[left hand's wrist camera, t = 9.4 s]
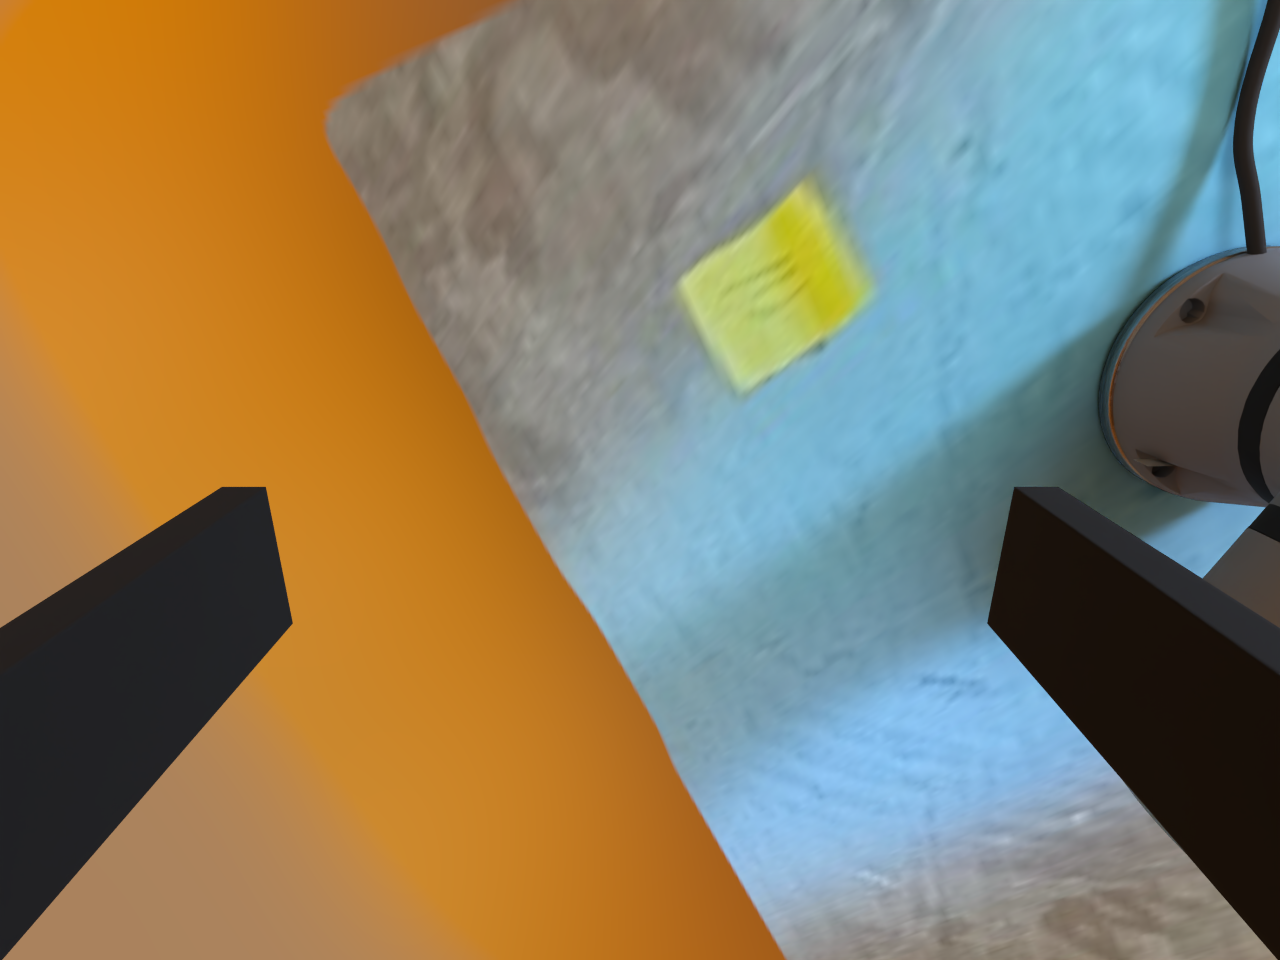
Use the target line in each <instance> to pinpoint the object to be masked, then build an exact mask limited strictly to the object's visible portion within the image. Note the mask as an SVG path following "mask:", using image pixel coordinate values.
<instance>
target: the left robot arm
mask: <svg viewBox="0 0 1280 960" xmlns="http://www.w3.org/2000/svg"><path fill="white" fill-rule="evenodd" d="M1279 29H1280V0H1268V2H1267V5H1266V9H1265V13H1264V16H1263V20H1262V23H1261V26H1260V30H1259V33H1258V36H1257V39H1256V42H1255V45H1254V49H1253V52H1252V55H1251V58H1250V61H1249V64H1248V67H1247V71H1246V74H1245V78H1244V81H1243V85H1242V89H1241V93H1240V97H1239V102H1238V106H1237V112H1236V119H1235V127H1234V137H1233V154H1234V163H1235V169H1236V174H1237V179H1238V184H1239V189H1240V195H1241V202H1242V211H1243V220H1244V229H1245V238H1246V247H1242V248H1237V249H1232V250H1228V251H1224V252H1221V253H1218V254H1215V255H1212V256H1210V257H1208V258H1205V259H1203V260H1201V261H1198V262H1196V263H1195V264H1193V265H1191V266H1189V267H1187V268H1185V269H1184V270H1182V271H1180V272H1179V273H1177V274H1176V275H1174V276H1173V277H1171V278H1170V279H1169V280H1167V281H1166V282H1165V283H1163V284H1162V285H1161V286H1160V287H1159V288H1157V289H1156V290H1155V291H1154V292H1153V293H1152V294H1151V295H1150V296H1149V297H1148V298H1147V299H1146V300H1145V301H1144V302H1143V303H1142V304H1141V305H1140V306H1139V307H1138V308H1137V310H1136V311H1135V312H1134V313H1133V314H1132V316H1131V317H1130V318H1129V320H1128V321H1127V323H1126V324H1125V325H1124V327H1123V328H1122V330H1121V332H1120V333H1119V335H1118V337H1117V338H1116V340H1115V342H1114V344H1113V347H1112V349H1111V351H1110V353H1109V356H1108V358H1107V361H1106V364H1105V367H1104V370H1103V374H1102V379H1101V384H1100V391H1099V414H1100V422H1101V426H1102V430H1103V433H1104V436H1105V438H1106V441H1107V443H1108V445H1109V447H1110V449H1111V451H1112V452H1113V454H1114V455H1115V456H1116V458H1117V459H1118V460H1119V461H1120V463H1121V464H1122V465H1123V466H1124V467H1125V468H1126V469H1128V470H1129V471H1130V472H1131V473H1133V474H1134V475H1135V476H1137V477H1138V478H1140V479H1142V480H1144V481H1146V482H1148V483H1150V484H1152V485H1154V486H1156V487H1157V488H1159V489H1161V490H1164V491H1166V492H1169V493H1172V494H1175V495H1179V496H1182V497H1185V498H1189V499H1193V500H1199V501H1207V502H1217V503H1228V504H1238V505H1249V506H1259V507H1266V508H1265V509H1264V510H1263V511H1262V513H1261V514H1260V515H1259V516H1258V517H1257V518H1256V519H1255V520H1254V522H1253V523H1252V524H1251V525H1250V526H1249V527H1248V528H1247V529H1246V530H1245V531H1244V532H1243V533H1242V534H1241V536H1240V537H1239V538H1238V539H1237V540H1236V541H1235V542H1234V544H1233V545H1232V546H1231V547H1230V548H1229V549H1228V550H1227V552H1226V553H1225V554H1224V555H1223V556H1222V557H1221V558H1220V560H1219V561H1218V562H1217V563H1216V564H1215V565H1214V566H1213V568H1212V569H1211V570H1210V571H1209V572H1208V573H1207V574H1206V575H1205V576H1204V577H1203V579H1202V578H1200V577H1199V576H1197V575H1196V574H1194V573H1192V572H1191V571H1189V570H1188V569H1186V568H1185V567H1183V566H1181V565H1180V564H1178V563H1177V562H1175V561H1174V560H1172V559H1170V558H1169V557H1167V556H1166V555H1164V554H1163V553H1161V552H1159V551H1158V550H1156V549H1155V548H1153V547H1152V546H1150V545H1148V544H1147V543H1145V542H1144V541H1142V540H1141V539H1139V538H1137V537H1136V536H1134V535H1133V534H1131V533H1130V532H1128V531H1126V530H1125V529H1123V528H1122V527H1120V526H1119V525H1117V524H1115V523H1114V522H1112V521H1111V520H1109V519H1108V518H1106V517H1104V516H1103V515H1101V514H1100V513H1098V512H1097V511H1095V510H1093V509H1092V508H1090V507H1089V506H1087V505H1085V504H1084V503H1082V502H1081V501H1079V500H1078V499H1076V498H1074V497H1073V496H1071V495H1070V494H1068V493H1067V492H1065V491H1063V490H1062V489H1060V488H1059V487H1014V491H1013V496H1012V501H1011V506H1010V511H1009V516H1008V521H1007V526H1006V531H1005V536H1004V541H1003V547H1002V552H1001V557H1000V562H999V567H998V572H997V577H996V582H995V587H994V592H993V597H992V602H991V607H990V612H989V617H988V622H987V624H988V625H989V626H990V627H991V628H992V629H993V631H994V632H995V633H996V634H997V635H998V636H999V638H1000V639H1001V640H1002V641H1003V642H1004V643H1005V644H1006V646H1007V647H1008V648H1009V649H1010V650H1011V651H1012V653H1013V654H1014V655H1015V656H1016V657H1017V658H1018V659H1019V661H1020V662H1021V663H1022V664H1023V665H1024V666H1025V668H1026V669H1027V670H1028V671H1029V672H1030V673H1031V675H1032V676H1033V677H1034V678H1035V679H1036V680H1037V681H1038V683H1039V684H1040V685H1041V686H1042V687H1043V688H1044V690H1045V691H1046V692H1047V693H1048V694H1049V695H1050V697H1051V698H1052V699H1053V700H1054V701H1055V702H1056V703H1057V705H1058V706H1059V707H1060V708H1061V709H1062V710H1063V712H1064V713H1065V714H1066V715H1067V716H1068V717H1069V719H1070V720H1071V721H1072V722H1073V723H1074V724H1075V725H1076V727H1077V728H1078V729H1079V730H1080V731H1081V732H1082V734H1083V735H1084V736H1085V737H1086V738H1087V739H1088V741H1089V742H1090V743H1091V744H1092V745H1093V746H1094V747H1095V749H1096V750H1097V751H1098V752H1099V753H1100V754H1101V756H1102V757H1103V758H1104V759H1105V760H1106V761H1107V763H1108V764H1109V765H1110V766H1111V767H1112V768H1113V769H1114V771H1115V772H1116V773H1117V774H1118V775H1119V776H1120V778H1121V779H1122V780H1123V781H1124V783H1125V784H1126V785H1127V787H1128V788H1129V790H1130V791H1131V792H1132V794H1133V795H1134V796H1135V798H1136V799H1137V800H1138V801H1139V803H1140V804H1141V805H1142V806H1143V807H1144V809H1145V810H1146V811H1147V812H1148V813H1149V815H1150V816H1151V817H1152V818H1153V819H1154V820H1155V821H1156V823H1157V824H1158V825H1159V826H1160V827H1161V828H1162V829H1163V830H1164V831H1165V833H1166V834H1167V835H1168V836H1169V837H1170V838H1171V839H1172V840H1173V841H1174V842H1175V843H1176V844H1177V845H1178V846H1179V847H1180V848H1181V849H1182V850H1183V851H1184V852H1185V853H1186V854H1187V855H1188V856H1189V857H1190V859H1191V860H1192V861H1193V862H1194V863H1195V864H1196V866H1197V867H1198V868H1199V869H1200V870H1201V871H1202V873H1203V874H1204V875H1205V876H1206V877H1207V878H1208V879H1209V881H1210V882H1211V883H1212V884H1213V885H1214V886H1215V888H1216V889H1217V890H1218V891H1219V892H1220V893H1221V895H1222V896H1223V897H1224V898H1225V899H1226V900H1227V901H1228V903H1229V904H1230V905H1231V906H1232V907H1233V908H1234V910H1235V911H1236V912H1237V913H1238V914H1239V915H1240V917H1241V918H1242V919H1243V920H1244V921H1245V922H1246V923H1247V925H1248V926H1249V927H1250V928H1251V929H1252V930H1253V932H1254V933H1255V934H1256V935H1257V936H1258V937H1259V939H1260V940H1261V941H1262V942H1263V943H1264V944H1265V945H1266V947H1267V948H1268V949H1269V950H1270V951H1271V952H1272V954H1273V955H1274V956H1275V957H1276V958H1277V959H1278V960H1280V246H1266V240H1265V230H1264V221H1263V211H1262V202H1261V194H1260V187H1259V181H1258V176H1257V171H1256V166H1255V161H1254V154H1253V130H1254V120H1255V114H1256V108H1257V103H1258V98H1259V93H1260V90H1261V86H1262V82H1263V79H1264V75H1265V72H1266V69H1267V66H1268V62H1269V59H1270V56H1271V53H1272V50H1273V47H1274V44H1275V41H1276V38H1277V35H1278V32H1279ZM291 625H292V617H291V612H290V607H289V602H288V597H287V592H286V587H285V582H284V577H283V572H282V567H281V562H280V557H279V552H278V547H277V542H276V536H275V531H274V526H273V521H272V516H271V512H270V506H269V501H268V496H267V491H266V487H221V488H220V489H218V490H217V491H215V492H213V493H212V494H210V495H209V496H207V497H206V498H204V499H202V500H201V501H199V502H198V503H196V504H195V505H193V506H191V507H190V508H188V509H187V510H185V511H183V512H182V513H180V514H179V515H177V516H176V517H174V518H173V519H171V520H169V521H168V522H166V523H165V524H163V525H161V526H160V527H158V528H157V529H155V530H154V531H152V532H151V533H149V534H147V535H146V536H144V537H143V538H141V539H139V540H138V541H136V542H135V543H133V544H132V545H130V546H128V547H127V548H125V549H124V550H122V551H121V552H119V553H117V554H116V555H114V556H113V557H111V558H110V559H108V560H106V561H105V562H103V563H102V564H100V565H99V566H97V567H95V568H94V569H92V570H91V571H89V572H88V573H86V574H84V575H83V576H81V577H80V578H78V579H77V580H75V581H73V582H72V583H70V584H69V585H67V586H66V587H64V588H62V589H61V590H59V591H58V592H56V593H55V594H53V595H51V596H50V597H48V598H47V599H45V600H44V601H42V602H40V603H39V604H37V605H36V606H34V607H33V608H31V609H29V610H28V611H26V612H25V613H23V614H21V615H20V616H18V617H17V618H15V619H14V620H12V621H11V622H9V623H7V624H6V625H4V626H3V627H1V628H0V960H2V959H3V958H4V957H5V956H6V955H7V954H8V952H9V951H10V950H11V949H12V948H13V946H14V945H15V944H16V943H17V942H18V941H19V940H20V938H21V937H22V936H23V935H24V934H25V933H26V932H27V930H28V929H29V928H30V927H31V926H32V925H33V923H34V922H35V921H36V920H37V919H38V918H39V917H40V915H41V914H42V913H43V912H44V911H45V910H46V908H47V907H48V906H49V905H50V904H51V903H52V901H53V900H54V899H55V898H56V897H57V896H58V895H59V893H60V892H61V891H62V890H63V889H64V888H65V886H66V885H67V884H68V883H69V882H70V881H71V879H72V878H73V877H74V876H75V875H76V874H77V872H78V871H79V870H80V869H81V868H82V867H83V866H84V864H85V863H86V862H87V861H88V860H89V859H90V857H91V856H92V855H93V854H94V853H95V852H96V850H97V849H98V848H99V847H100V846H101V845H102V843H103V842H104V841H105V840H106V839H107V838H108V837H109V835H110V834H111V833H112V832H113V831H114V830H115V828H116V827H117V826H118V825H119V824H120V823H121V822H122V820H123V819H124V818H125V817H126V816H127V815H128V813H129V812H130V811H131V810H132V809H133V808H134V807H135V805H136V804H137V803H138V802H139V801H140V800H141V798H142V797H143V796H144V795H145V794H146V793H147V791H148V790H149V789H150V788H151V787H152V786H153V785H154V783H155V782H156V781H157V780H158V779H159V778H160V776H161V775H162V774H163V773H164V772H165V771H166V769H167V768H168V767H169V766H170V765H171V764H172V763H173V761H174V760H175V759H176V758H177V757H178V756H179V754H180V753H181V752H182V751H183V750H184V749H185V747H186V746H187V745H188V744H189V743H190V742H191V740H192V739H193V738H194V737H195V736H196V735H197V734H198V732H199V731H200V730H201V729H202V728H203V727H204V725H205V724H206V723H207V722H208V721H209V720H210V719H211V717H212V716H213V715H214V714H215V713H216V712H217V710H218V709H219V708H220V707H221V706H222V705H223V703H224V702H225V701H226V700H227V699H228V698H229V696H230V695H231V694H232V693H233V692H234V691H235V690H236V688H237V687H238V686H239V685H240V684H241V683H242V681H243V680H244V679H245V678H246V677H247V676H248V675H249V673H250V672H251V671H252V670H253V669H254V667H255V666H256V665H257V664H258V663H259V662H260V661H261V659H262V658H263V657H264V656H265V655H266V654H267V653H268V651H269V650H270V649H271V648H272V647H273V646H274V644H275V643H276V642H277V641H278V640H279V639H280V637H281V636H282V635H283V634H284V633H285V632H286V631H287V629H288V628H289V627H290V626H291Z"/></svg>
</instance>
